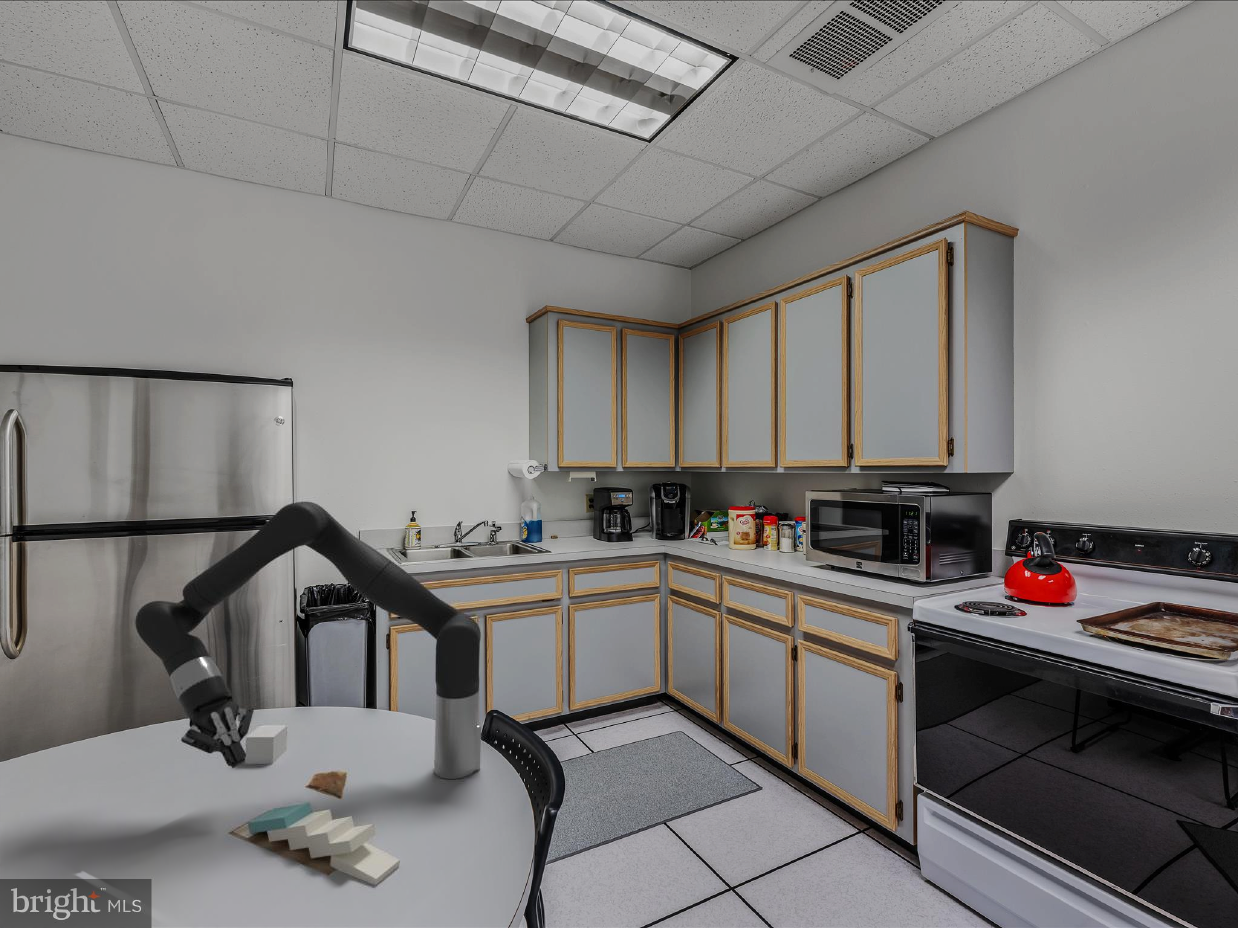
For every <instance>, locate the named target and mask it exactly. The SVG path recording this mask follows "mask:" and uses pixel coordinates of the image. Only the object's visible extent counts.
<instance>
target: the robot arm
mask: <svg viewBox="0 0 1238 928" xmlns="http://www.w3.org/2000/svg"><path fill="white" fill-rule="evenodd" d="M302 546H306V547H307V548H310V549H311V550H313V551H315V552H316V553H317V554H320V555H321V556H322V557H324V558H325V559H327V560H328V561H329V562H331V564H333V565H334V566H335V568H336V569H337V570H338V571H339V573H340V574H341V576H343V578H344V579H345V581H346V582H348V584H349V585H350V586H351V587H352V589H354V590H355V591H356V592H357V593H359V594H360V595H361V596H362V597H364V598H365V599H366V600H368V601H369V602H371V603H372V604H373V605H375V606H377V607H378V608H380V610H381V609H382V610H384V611H386V612H388V613H390V614H392V615H395V616H396V617H397V616H398V617H399V618H402V619H406V620H408V621H410V622H412V623H415V624H416V625H417V626H419V627H421V628H422V629H423V630H424V631H426V632H427V633H429V635H430V636H432V637H433V638H434V639H435V640H436V643H435V670H434V671H435V678H434V679H435V686H436V688H435V689H436V690H435V722H434V723H435V724H434V725H435V727H434V728H435V731H434V733H435V734H434V762H433V765H434V768H433V771H434V774H435V775H436V776H437V777H439V778H442V779H447V780H455V779H461V778H465V777H467V776H469V775H471V774H473V773H474V772H476V771H479V770H480V769H481V745H482V744H481V743H482V725H480V723H479V707H480V706H479V700H480V654H481V653H480V650H481V649H480V647H481V638H482V635H481V628H480V626H479V624H478V623H477V622H476V620H474V618H472V617H471V616H470V615H468V614H466V613H464V612H462V611H460V610H458V609H456V607H453V606H451V605H450V604H448V603H447V602H445V601H444V600H442V599H440V598H439V597H438V596H437V595H435V594H434V593H432V592H431V591H430V590H429V589H428V588H427V587H426V586H425V585H424V584H422V583H421V582H420V581H418V580H417V579H416V578H415V577H413V576H412V575H411V574H410V573H408V572H407V571H405V569H403V568H402V567H401V566H399V565H398V564H397V563H395V562H394V561H392V560H391V559H389V558H388V557H386V556H385V555H384V554H382V553H381V552H380V551H377V549H375V548H374V547H372V546H371V545H369V544H368V543H365V541H362V540H361V539H359V538H358V537H356V536H355V535H354V534H352V533H351V532H350V531H349V530H347V529H346V528H345V527H344V526H343V525H342V524H341V523H340V522H339V521H337V520H336V519H335V518H334V517H333V516H332V515H331V514H330V513H329V512H328V511H327V510H326V509H324V507H322V506H320V505H319V504H318V503H315V502H312V501H298V502H297V501H296V502H292V503H289V504H287V505H285V506H283V507H281V508H280V509H279V510H278V511H277V512H276V513H275V514H274V515H272V517H271V518H270V519H269V520H268V521H267V522H266V523H265V524H264V525H263V526H262V527H261V528H260V529H258V531H257V532H256V533H254V534H253V535H252V536H251V537H249V539H247V540H246V541H245V542H244V543H243V544H241V545H240V546H239V547H237V548H236V549H234V550H233V551H232V552H231V553H229V554H227V555H226V556H225V557H223V558H221V559H220V560H218V561H217V562H215V563H214V564H213V565H211V566H210V567H208V568H207V569H205V570H204V571H203V572H201V573H199V574H198V575H197V576H195V577H194V578H193V579H191V580H190V581H189V582H187V584H185V586H184V588H182V597H183V599H182V600H180V601H179V602H173V601H167V600H154V601H153V600H152V601H151V602H147V603H145V604H144V605H143V606H142V607H141V608H140V609H138V611H137V613H136V616H135V622H134V623H135V625H134V626H135V629H136V632H137V634H138V635H139V637H140V638H141V640H142V641H143V643H144V644H145V645H146V646H147V647H148V648H149V649H150V651H152V652H153V653H154V654H155V656H157V658H159V659H160V661H161V662H162V664H163V667H164V668H165V671H166V673H167V674H168V676H169V679H170V682H171V684H172V689H173V690H174V693H175V696H176V697H177V699H178V701H179V704H180V705H181V708H182V709H183V711H184V713H185V716H186V718H187V719H189V723H188V724H189V727H190V728H189V729H187V731H186V732H185V734H184V735H183V736H182V737H181V740H180V741H181V742H182V743H184V744H185V745H188V746H191V747H193V748H195V749H198V750H199V751H203V752H205V753H207V754H208V755H209V754H213V753H216V752H217V753H218V752H219V753H220V754H221V755H222V757H223V758H224V761H225V762H226V765H227V766H228V767H231V769H235V768H237V767H239V766H241V765H242V764H243V763H244V762H245V757H246V750H245V749H244V748H243V745H242V743H241V741H242V740H243V739H244V738H245V737H247V734H248V733H249V729H250V727H251V726H250V725H251V722H252V718H253V714H254V712H255V709H254V708H253V707H248V708H242V707H241V708H240V705H239V704H238V703H236V702H235V701H234V700H233V696H232V692H231V691H230V688H229V686H228V685H227V683H226V681H225V679H224V678H223V675H222V674H221V671H220V669H219V667H218V666H217V665H216V663H215V662H214V660H213V659H212V657H211V656H210V653H209V652H208V650H207V648H206V645H205V644H204V643H203V641H202V640H201V638H199V637H198V636H196V635H193V634H190V633H191V632H192V631H193V630H195V629H196V628H197V627H198V626H199V625H200V623H202V622H203V620H204V619H205V618H206V617H207V616H208V615H209V614H210V612H211V611H212V609H214V608H215V607H216V606H217V605H220V603H222V602H223V601H225V600H226V599H227V598H229V597H230V596H231V595H233V594H234V593H235V592H237V591H238V590H240V588H242V587H243V586H244V585H246V583H247V582H249V581H250V580H251V579H252V578H253V577H255V575H256V574H258V573H259V572H260V571H261V570H262V569H263V568H264V567H266V566H267V565H268V564H269V563H271V562H273V561H275V560H276V559H277V558H279V557H281V556H284V555H285V554H286V553H287V554H288V552H290V551H292V550H295V549H296V548H299V547H302ZM236 721H238V722H239V723H238V724H237V722H236Z"/></svg>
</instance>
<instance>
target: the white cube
mask: <svg viewBox="0 0 1238 928" xmlns="http://www.w3.org/2000/svg"><path fill="white" fill-rule="evenodd" d="M287 740H288V725H282V724H281V725H279V724H278V725H275V724H274V725H273V724H272V725H260V726H258V727H257V728H256V729H254V730H253V731H252V732H251V733H250V734H248V735H246V736H245V753H246V757H245V761H244V762H245V763H244V764H245V765H250V764H251V765H254V764H255V765H258V764H259V765H260V764H261V765H262V764H263V765H264V764H265V765H266V764H267V765H269V764H270V765H272V764H274V763H275V762H276V761H278V760H279V758H281V757H282V756H283V755H284V754H285V753H286V752H287V751H286V750H288V749H287V747H288V746H287V745H288V743H287V742H288V741H287ZM285 751H286V752H285ZM284 752H285V753H284ZM282 754H283V755H282Z"/></svg>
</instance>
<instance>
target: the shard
mask: <svg viewBox="0 0 1238 928" xmlns="http://www.w3.org/2000/svg"><path fill="white" fill-rule="evenodd" d="M347 774H348V773H347V771H339V770H337V771H328V772H327V771H326V772H319V773H315V774H314V775H313V776H312V778H311V780H310V782H309V783H308V784H307V785H305V788H306V789H310V790H313V791H316V792H320V793H322V794H325V795H328V796H333V797H335V798H337V799H340V800H341V799H342V797H343V793H344V792H343V791H344V787H345V786H346V782H347V778H348V777H347Z"/></svg>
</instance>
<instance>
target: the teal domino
mask: <svg viewBox="0 0 1238 928" xmlns="http://www.w3.org/2000/svg"><path fill="white" fill-rule="evenodd" d="M269 810H270V811H269ZM269 810H268V811H269V812H267V811H266V812H267V813H265V812H264V813H265V814H264V813H262V814H263V815H262V814H260V815H261V816H260V815H258V816H259V817H258V816H257V817H258V818H256V817H255V818H256V819H255V818H253V819H254V820H253V819H251V820H252V821H251V820H250V822H249V821H248V822H249V823H248V827H249V832H250V833H256V832H263V831H270V830H277V829H284V828H287V827H289V826H291V825H292V824H294V823H296V822H297V821H299V820H301V819H302V818H304V817H306V816H307V815H309V814H311V813H313V812H312V808H311V803H310V802H306V803H304V802H303V803H299V804H292V805H288V806H280V807H276V808H272V809H269Z"/></svg>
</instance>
